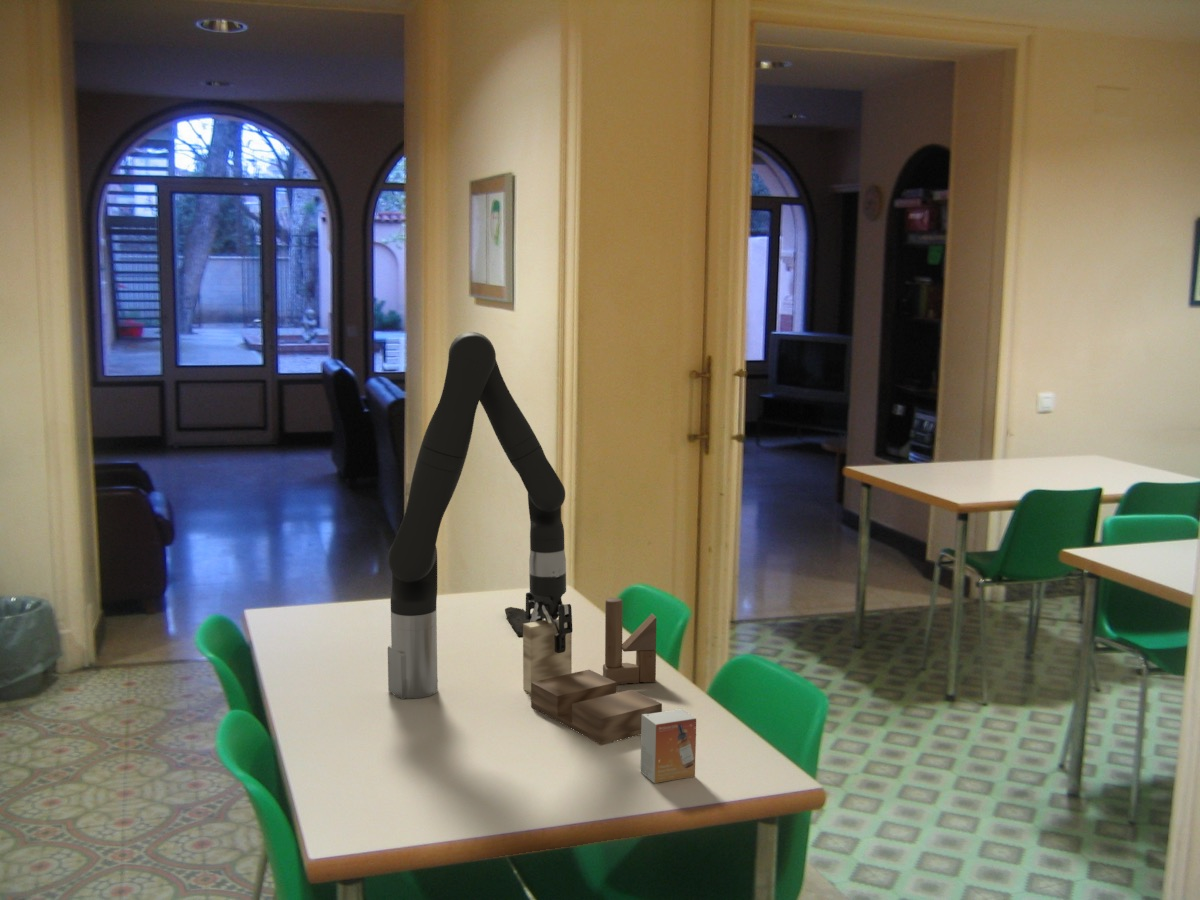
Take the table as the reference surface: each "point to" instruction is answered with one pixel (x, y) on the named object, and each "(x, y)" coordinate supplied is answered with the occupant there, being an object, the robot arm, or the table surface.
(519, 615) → the wood
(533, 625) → the maple slat
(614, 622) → the wooden toy block structure
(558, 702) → the slotted plate
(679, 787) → the table surface
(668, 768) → the small box
